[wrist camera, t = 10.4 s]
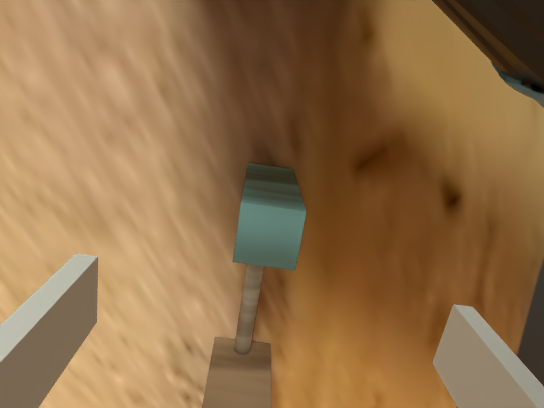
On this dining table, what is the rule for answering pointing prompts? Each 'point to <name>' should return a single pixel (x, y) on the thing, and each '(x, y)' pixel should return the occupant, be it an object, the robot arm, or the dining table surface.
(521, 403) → the robot arm
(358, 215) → the dining table surface
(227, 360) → the tethered block
